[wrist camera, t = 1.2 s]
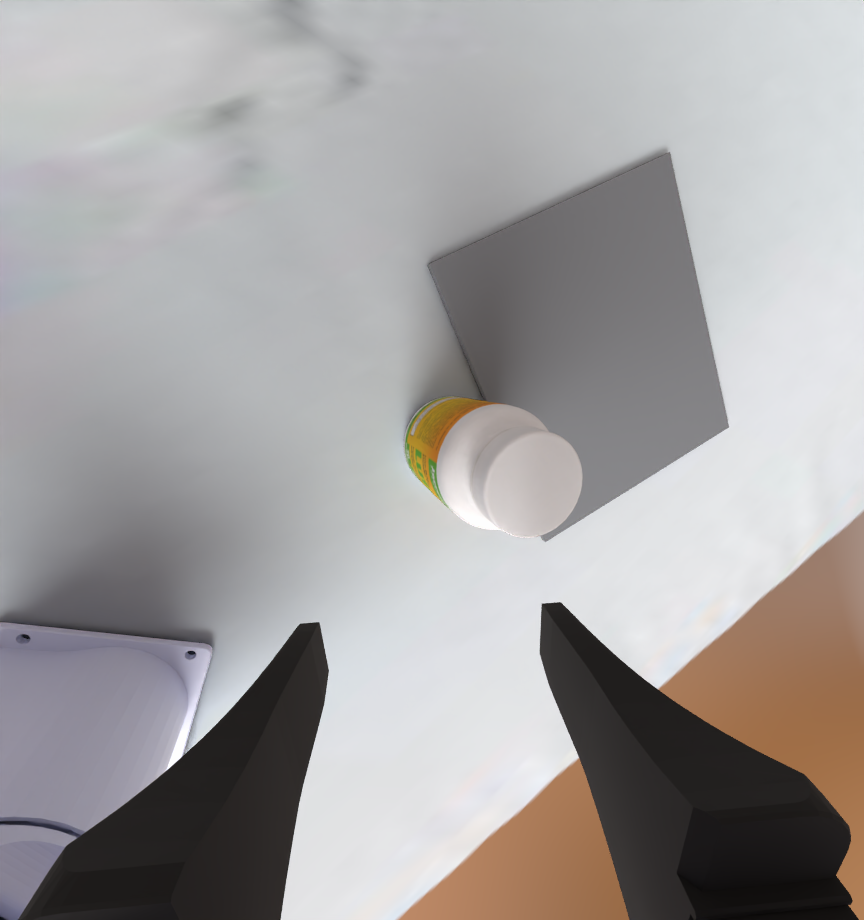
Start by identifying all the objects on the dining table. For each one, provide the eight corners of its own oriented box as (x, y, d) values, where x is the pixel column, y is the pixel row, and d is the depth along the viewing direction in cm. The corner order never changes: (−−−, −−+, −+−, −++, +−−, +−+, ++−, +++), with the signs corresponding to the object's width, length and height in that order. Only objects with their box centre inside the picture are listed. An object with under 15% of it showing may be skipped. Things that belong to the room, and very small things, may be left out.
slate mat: (542, 539, 27) (545, 541, 26) (427, 265, 21) (429, 263, 21) (723, 426, 29) (728, 427, 29) (663, 155, 24) (669, 152, 23)
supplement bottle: (382, 440, 22) (433, 487, 13) (452, 375, 23) (548, 377, 14) (442, 505, 24) (523, 585, 15) (506, 444, 25) (623, 485, 16)
